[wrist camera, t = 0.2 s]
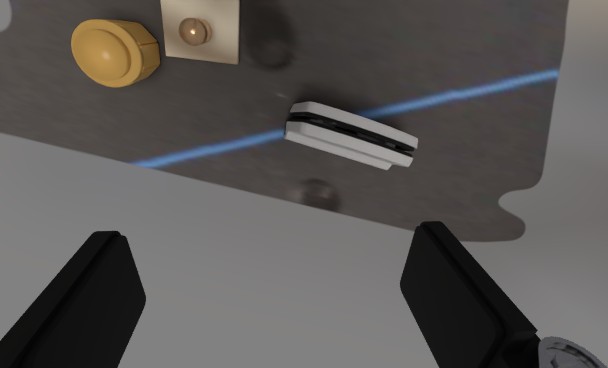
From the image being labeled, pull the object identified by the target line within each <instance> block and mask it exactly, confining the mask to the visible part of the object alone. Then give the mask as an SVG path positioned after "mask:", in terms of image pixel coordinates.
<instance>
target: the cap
mask: <svg viewBox="0 0 608 368" xmlns="http://www.w3.org/2000/svg"><path fill="white" fill-rule="evenodd" d="M156 42H157V40H156V39H155V38H154V37H153V36H152V35H151V34H150V33H149V32H148V31H147V30H146V29H145V28H144V27H143V26H142V25H141V24H139V23H136V22H129V21H122V20H100V19H93V20H88V21H85V22H83V23H81V24H80V25H79V26H77V28H76V29H75V30H74V32H73V35H72V40H71V47H72V52H73V55H74V58H75V60H76V62H77V63H78V65H79V66H80V68H81V69H82V70H83V71H84V73H86V74H87V75H88V76H89V77H90V78H91V79H93V80H94V81H96V82H98V83H100V84H102V85H105V86H109V87H122V86H126V85H131V84H133V83H136V82H138V81H140V80H142V79H145V78H147V77H148V76H149V75H150V74H151V73H152V72H153V71H154V70H155V69H156V68H157V67H158V66H159V64H160V55H159V46H158V43H156Z"/></svg>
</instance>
